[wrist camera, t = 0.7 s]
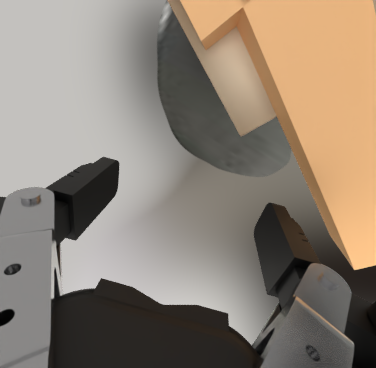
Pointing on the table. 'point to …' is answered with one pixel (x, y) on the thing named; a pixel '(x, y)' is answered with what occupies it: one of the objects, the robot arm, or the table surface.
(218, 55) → the birch shelf stand
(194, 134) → the table surface
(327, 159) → the orange T-bar
